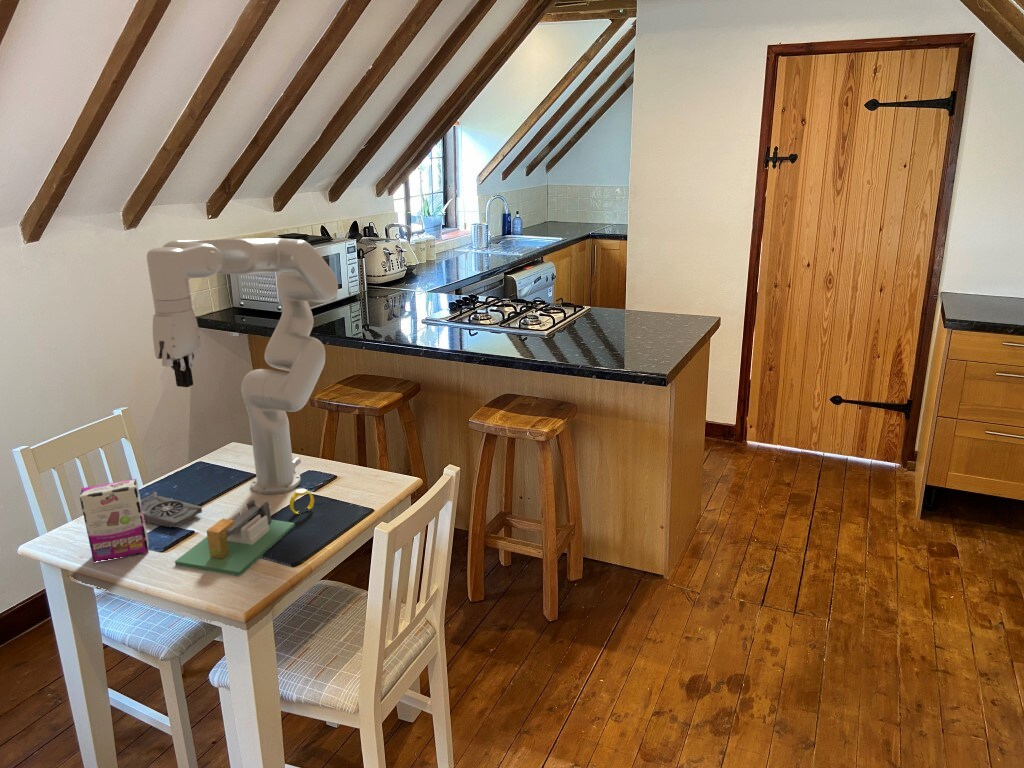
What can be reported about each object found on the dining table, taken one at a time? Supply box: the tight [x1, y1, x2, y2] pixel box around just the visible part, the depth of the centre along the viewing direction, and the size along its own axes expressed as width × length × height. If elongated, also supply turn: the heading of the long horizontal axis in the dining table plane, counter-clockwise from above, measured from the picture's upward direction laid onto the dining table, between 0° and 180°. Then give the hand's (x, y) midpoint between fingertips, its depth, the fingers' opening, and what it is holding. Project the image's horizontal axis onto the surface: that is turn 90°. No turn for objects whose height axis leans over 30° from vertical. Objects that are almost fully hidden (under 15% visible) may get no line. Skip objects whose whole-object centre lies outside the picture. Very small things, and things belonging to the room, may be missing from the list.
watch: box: [289, 488, 315, 515], centre depth 190 cm, size 6×3×6 cm, turn 133°
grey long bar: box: [226, 503, 262, 537], centre depth 176 cm, size 14×2×1 cm, turn 164°
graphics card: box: [141, 491, 203, 528], centre depth 188 cm, size 17×4×12 cm
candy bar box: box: [79, 478, 150, 563], centre depth 170 cm, size 11×5×16 cm, turn 114°
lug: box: [206, 518, 235, 559], centre depth 170 cm, size 6×3×6 cm, turn 164°
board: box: [174, 499, 296, 577], centre depth 175 cm, size 22×16×6 cm
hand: (185, 385), depth 174 cm, fingers closed
